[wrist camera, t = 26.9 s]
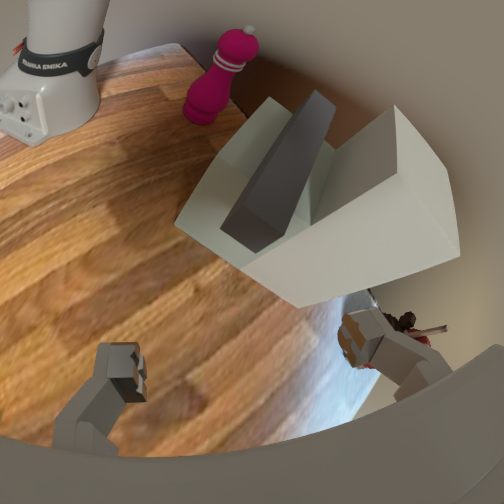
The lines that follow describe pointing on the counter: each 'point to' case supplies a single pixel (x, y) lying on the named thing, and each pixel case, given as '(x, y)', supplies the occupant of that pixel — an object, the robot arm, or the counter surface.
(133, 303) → the counter surface
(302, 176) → the gray rectangular bar
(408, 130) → the step stand
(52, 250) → the counter surface
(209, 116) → the pepper mill
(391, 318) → the cake
